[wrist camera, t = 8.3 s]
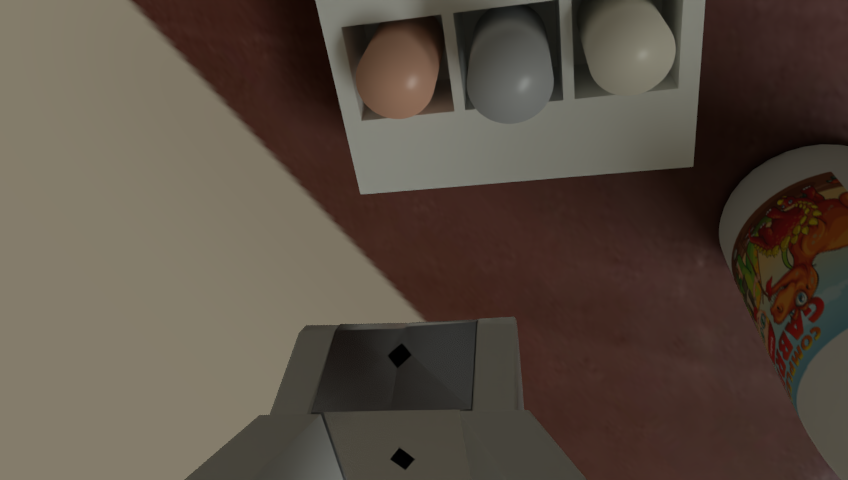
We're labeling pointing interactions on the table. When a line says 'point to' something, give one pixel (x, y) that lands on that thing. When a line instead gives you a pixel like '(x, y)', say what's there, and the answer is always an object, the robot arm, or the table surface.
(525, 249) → the table surface
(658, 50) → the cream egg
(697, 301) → the table surface
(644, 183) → the table surface
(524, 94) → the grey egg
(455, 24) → the white compartment tray
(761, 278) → the milk bottle
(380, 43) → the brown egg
